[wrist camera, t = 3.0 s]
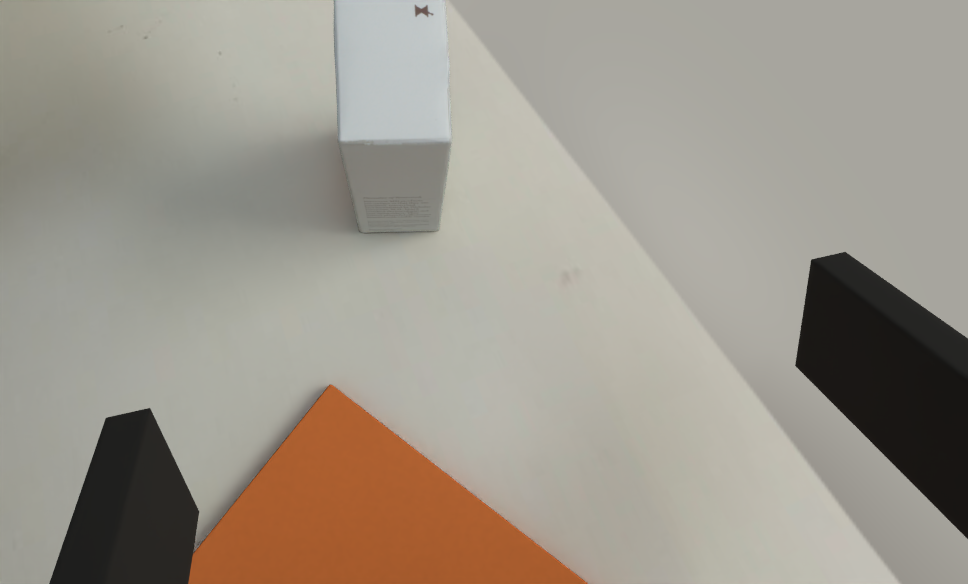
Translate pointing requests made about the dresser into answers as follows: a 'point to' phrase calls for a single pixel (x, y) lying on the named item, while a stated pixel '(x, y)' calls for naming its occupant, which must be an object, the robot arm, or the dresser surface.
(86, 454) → the dresser surface
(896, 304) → the robot arm
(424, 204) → the cosmetic box
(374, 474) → the orange rectangular board
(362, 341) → the dresser surface
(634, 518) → the dresser surface
